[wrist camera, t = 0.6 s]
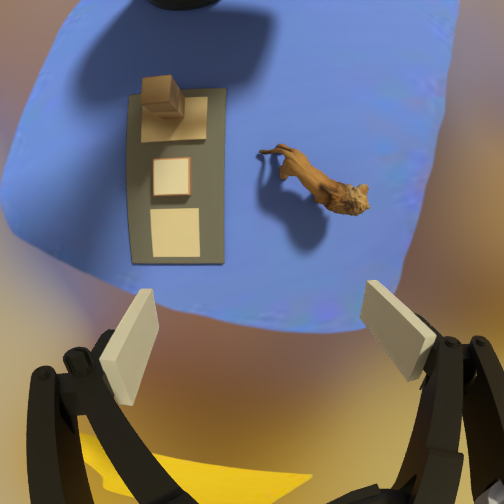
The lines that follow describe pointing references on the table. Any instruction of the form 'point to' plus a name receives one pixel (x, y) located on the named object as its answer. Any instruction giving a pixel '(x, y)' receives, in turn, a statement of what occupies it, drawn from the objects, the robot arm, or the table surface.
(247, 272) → the table surface
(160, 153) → the taupe mat
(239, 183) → the table surface
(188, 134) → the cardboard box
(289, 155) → the lion figurine
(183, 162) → the cream square tile
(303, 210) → the table surface
